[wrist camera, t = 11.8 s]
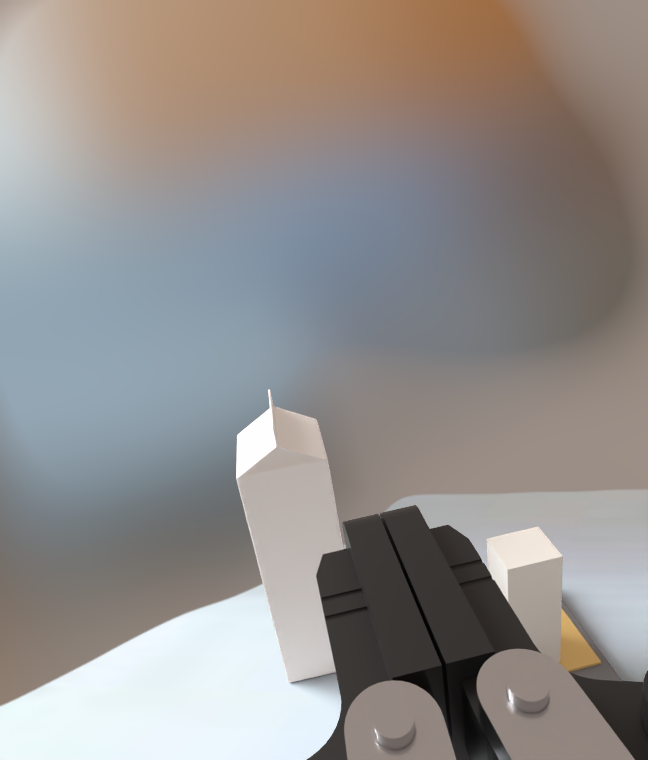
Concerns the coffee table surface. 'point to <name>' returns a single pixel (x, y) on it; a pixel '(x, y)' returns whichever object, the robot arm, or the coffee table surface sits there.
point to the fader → (530, 584)
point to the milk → (290, 530)
